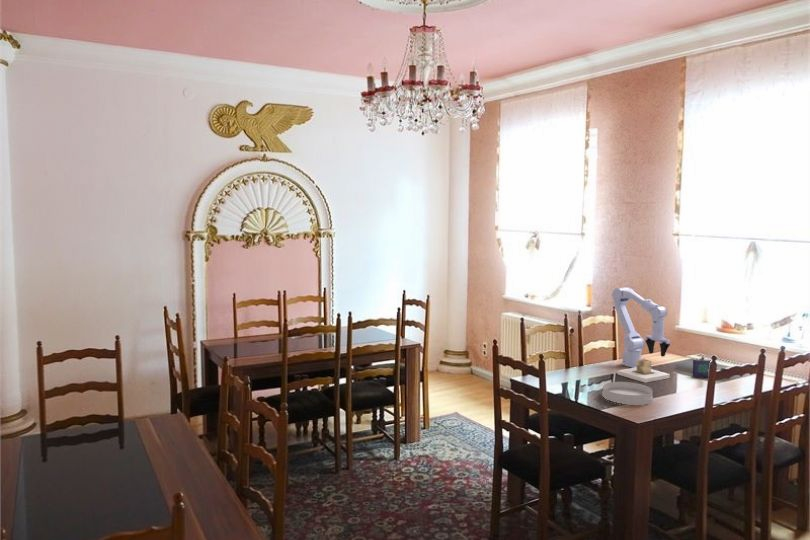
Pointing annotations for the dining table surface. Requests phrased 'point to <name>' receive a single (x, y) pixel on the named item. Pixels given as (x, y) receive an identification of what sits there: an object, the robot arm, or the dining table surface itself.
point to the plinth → (643, 375)
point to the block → (644, 366)
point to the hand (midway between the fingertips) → (657, 354)
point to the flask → (700, 367)
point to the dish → (627, 393)
